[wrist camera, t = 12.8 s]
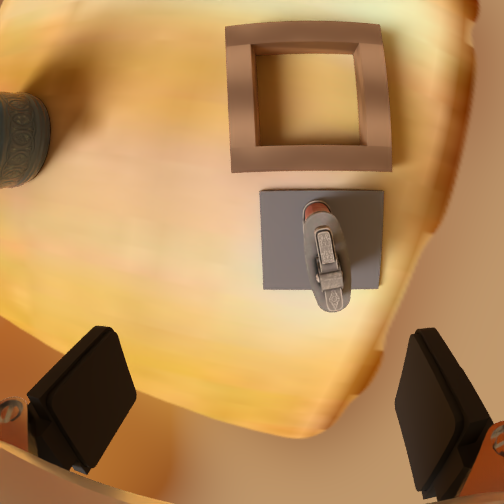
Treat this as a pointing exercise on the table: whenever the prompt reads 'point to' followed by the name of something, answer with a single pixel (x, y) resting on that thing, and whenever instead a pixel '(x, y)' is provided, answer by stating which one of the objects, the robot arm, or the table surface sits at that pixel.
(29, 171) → the canister
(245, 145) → the frame
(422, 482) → the robot arm
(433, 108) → the table surface
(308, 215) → the lighter
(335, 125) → the table surface
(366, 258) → the charcoal mat
